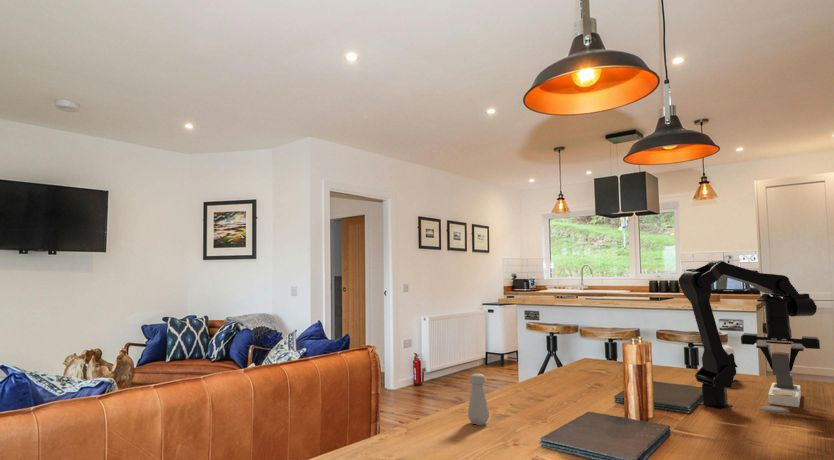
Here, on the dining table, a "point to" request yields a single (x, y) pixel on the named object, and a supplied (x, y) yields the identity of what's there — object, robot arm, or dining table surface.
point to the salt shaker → (478, 400)
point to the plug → (781, 363)
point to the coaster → (774, 409)
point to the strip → (784, 392)
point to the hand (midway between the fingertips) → (781, 370)
